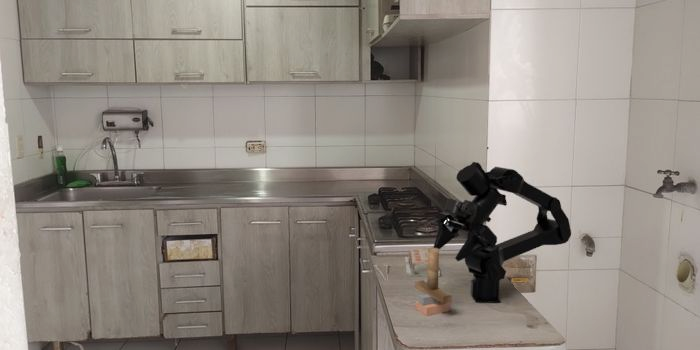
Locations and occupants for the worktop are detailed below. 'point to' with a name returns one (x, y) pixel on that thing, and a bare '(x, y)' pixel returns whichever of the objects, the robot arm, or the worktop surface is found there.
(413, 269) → the packaged product
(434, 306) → the fulcrum stand
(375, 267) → the pair of ivory hairpins
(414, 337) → the worktop surface
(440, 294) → the wooden stamp
